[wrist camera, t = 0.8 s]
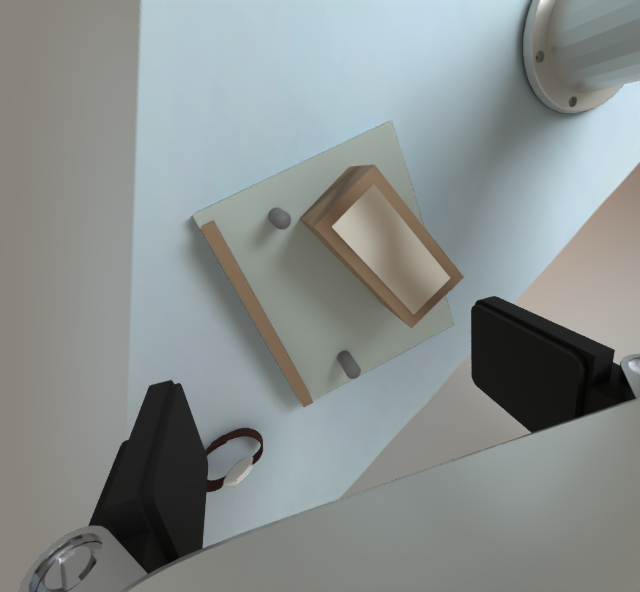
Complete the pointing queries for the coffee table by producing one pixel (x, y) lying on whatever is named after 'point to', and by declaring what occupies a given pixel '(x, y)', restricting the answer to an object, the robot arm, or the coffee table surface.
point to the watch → (240, 468)
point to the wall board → (313, 271)
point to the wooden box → (382, 243)
